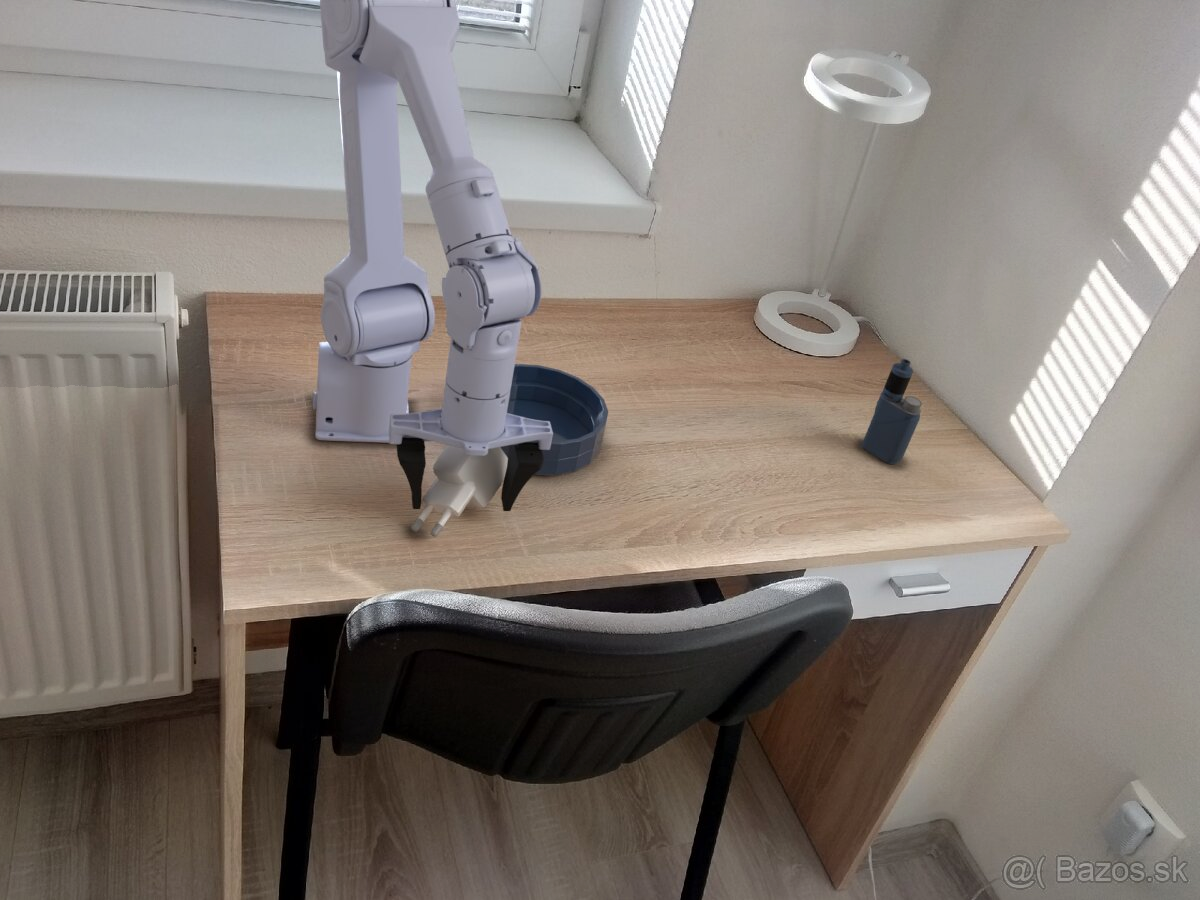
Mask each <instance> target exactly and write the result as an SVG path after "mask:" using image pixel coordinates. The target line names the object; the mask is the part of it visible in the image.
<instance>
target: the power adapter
mask: <svg viewBox="0 0 1200 900" xmlns="http://www.w3.org/2000/svg"><path fill="white" fill-rule="evenodd" d="M507 462H508V458H507V456H506V455H505V453H504V452H503V450H502V449H501V448H500V447H497V448H492V449H488V454H487V455H485V456H472V455H467V454H465V453H464V449H463V448H458V447H454V446H450V445H446V446H445V447H444V448H443V450H442V451H441V452H440V454H439V456H437V459H436V460H435V462H434V463H433V467H432V470H433V473H434V475H435V476H436V479H435V480H434V482H433V483H432V485H431V486H430V487H429V488H428V490H427V492H426V493H425V494H424V496H423V497H422V501H421V505H422V506H424V508H423V510H422V512H421V513H420V514H419V516H418V517H417V518H416V520H415V521H414V523H413V524H412V525H411V531H413V532H419V530H420V528H421V527H422V526H423V525H424V523H425V521H426V519H427V518H428V517H429V515H430V514H431V513H432V512H434V513H439V514H442V515H441V517H440V518H439V519H438V521H437V522H436V523H435V524H434V526H433V527H432V529H431V530H430V532H429V533H430V536H431V537H434V538H436V537H438V535H439V534H440V533H441V531H442V530H443V528H444V526H445V525H446V523H447V522H448V520H449V519H450V518H451V517H455V518H460V516H461V514H462V512H464V510H465V509H466V506H468V507H472V508H477V509H483V508H485V507H486V506H488V505H489V504H490V502H491V501H492V500H493V498H494V496H495V495H496V494H497V492H498V491H499V489H500V488H501V486H503V482H504V478H505V473H506V469H507Z"/></svg>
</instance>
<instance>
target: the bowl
mask: <svg viewBox="0 0 1200 900" xmlns="http://www.w3.org/2000/svg"><path fill="white" fill-rule="evenodd" d="M507 413H508V414H512V415H516V416H521V417H525V418H529V419H534V420H540V421H549V422H550V424H551V428H552V431H553V436H552V441H551V446H550V450H542V452H543V456H544V461H543V465H542V467H541V469H540V470H539V471H538V472H536V473H535V474H534V475H533V476H559V475H565V474H569V473H574V472H577V471H578V470H582V469H583V468H585V467H587V466H590V464H591V463H592V462H593V461H594V460H595V459H596V458H597V457H598V456H599V454H600V451H601V448H602V444H603V438H604V434H605V431H606V426H607V422H608V416H609V409H608V407H607V403H606V401H605V399H604V397H603V396H602V395H601V394H600V393H599V392H598V391H597V390H596V388H595V387H593V386H592V385H590V384H589V383H587V382H586V381H585V380H583V379H581V378H580V377H578V376H576V375H573V374H571V373H569V372H566V371H563V370H561V369H557V368H554V367H549V366H544V365H540V364H526V363H515V366H514V372H513V378H512V384H511V390H510V397H509V403H508V409H507ZM500 448H501V449H502V450H503V452H504V453H505V455H506V456H507V458H508V453H509V445H508V446H502V447H500Z"/></svg>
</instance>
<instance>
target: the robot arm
mask: <svg viewBox="0 0 1200 900" xmlns="http://www.w3.org/2000/svg"><path fill="white" fill-rule="evenodd" d="M319 6H320V9H319V10H320V20H321V21H320V22H321V33H322V34H321V36H322V47H323V52H324V62H325V65H326V67H328V68H330V69H332V70H334V71H336V76H337V91H338V103H339V120H340V131H341V145H342V146H341V148H342V161H343V174H344V190H345V203H346V216H347V217H346V218H347V232H348V245H349V252H348V254H347V255H346V256H344V258H343V259H342V260H341V261H339V263H337V264H336V265H335V266H334V267H333V268H332V269H330V271H328V273H326V274H325V275H324V277H323V299H322V303H321V309H320V323H321V327H322V332H323V334H324V338H325V340H326V341H321V342H320V341H319V342H318V359H317V383H316V391H313V395H312V396H313V397H312V410H315V435H314V437H315V439H317V440H318V441H331V442H334V441H335V442H356V443H357V442H359V443H360V442H361V443H383V444H385V443H386V444H389V445H396V454H397V460H398V462H399V465H400V467H401V469H402V470H403V472H404V474H405V476H406V477H405V478H407V481H408V485H409V488H410V492H411V506H412V510H421V509H422V499H423V497H422V496H423V495H422V491H423V490H422V488H423V481H424V475H425V469H426V466H427V465H426V464H427V461H426V444H425V442H433V443H434V442H435V443H437V444H443V445H446V446H447V445H450V446H454V447H458V448H463V449H464V453H465V454H467V455H472V456H485V455H487V454H488V449H492V448H497V447H502V446H508V445H509V453H508V462H507V469H506V473H505V478H504V482H503V483H502V485H501V486H502V487H501V495H500V496H501V497H500V499H501V500H500V501H501V506H502V511H503V512H511V511H512V509H513V506H514V504H515V502H516V499H517V498H518V496H519V495H520V493H521V491H522V490H523V488H524V487H525V485H526V484H527V483H528V482H529V481H530V480H531V479H532V478H533V476H535V475H534V474H535V473H536V472H538V471H539V470H540V469H541V467H542V465H543V461H544V456H543V452H542V450H550V446H551V441H552V436H553V431H552V428H551V424H550V422H549V421H540V420H534V419H529V418H525V417H521V416H516V415H512V414H508V413H507V409H508V403H509V397H510V390H511V384H512V378H513V372H514V366H515V364H516V358H517V354H518V348H519V341H520V335H521V330H522V323H523V322H522V321H523V320H522V319H525V318H526V317H530V316H532V315H534V314H535V313H536V312H537V311H538V308H539V306H540V304H541V301H542V291H543V289H542V280H541V276H540V269H539V266H538V264H537V262H536V261H535V259H534V257H533V256H532V255H531V254H530V252H528V251H527V250H526V249H525V248H524V246H523V244H522V240H520V239H519V237H518V236H517V237H513V235H512V232H511V228H510V226H509V221H508V218H507V215H506V212H505V209H504V205H503V202H502V199H501V196H500V192H499V189H498V186H497V182H496V180H495V179H496V178H495V176H494V173H493V170H492V169H491V168H490V167H488V166H487V165H486V164H484V163H482V162H481V161H479V160H477V159H476V158H475V155H474V151H473V146H472V142H471V137H470V133H469V129H468V124H467V118H466V115H465V109H464V106H463V100H462V96H461V93H460V92H461V91H460V87H459V83H458V79H457V74H456V69H455V66H454V61H453V56H452V52H453V51H454V48H455V45H456V43H457V39H458V34H459V30H460V18H459V15H458V13H457V12H458V10H457V9H458V7H457V0H319ZM397 84H399V87H400V90H401V91H402V94H403V96H404V99H405V102H406V104H407V107H408V109H409V111H410V114H411V117H412V120H413V122H414V124H415V127H416V130H417V132H418V134H419V137H420V140H421V142H422V145H423V147H424V150H425V152H426V154H427V157H428V161H429V163H430V165H431V167H432V171H431V173H430V176H429V179H428V181H427V183H426V185H425V193H426V196H427V197H426V198H427V200H428V202H429V203H428V205H429V207H430V210H431V213H432V217H433V219H434V223H435V227H436V230H437V233H438V237H439V240H440V243H441V246H442V249H443V253H444V255H445V259H446V263H447V265H448V268H449V269H448V270H447V272H446V275H445V277H441V292H442V299H443V302H444V306H445V310H446V321H445V327H446V333H447V335H448V336H449V337H450V341H449V349H448V357H447V366H446V375H445V380H444V381H445V383H444V391H443V397H442V398H443V399H442V406H441V408H436V409H435V408H434V409H430V410H424V411H423V410H422V411H417V412H416V411H415V412H411V413H410V408H409V390H410V381H411V370H412V363H413V362H412V361H413V355H414V354H415V353H418V352H420V346H421V342H424V341H426V340H427V339H429V338H430V337H431V335H432V333H433V330H434V327H435V322H436V312H435V311H436V309H435V305H434V302H433V299H432V295H431V293H430V287H429V282H428V273H427V271H425V269H424V268H423V267H421V265H419V264H418V263H417V262H415V261H414V260H412V259H411V258H409V257H408V256H406V255H405V254H406V253H405V238H404V237H405V236H404V235H405V234H404V218H403V198H402V178H401V176H402V173H401V158H400V157H401V156H400V137H399V136H400V135H399V134H400V133H399V116H398V115H399V114H398V95H397Z"/></svg>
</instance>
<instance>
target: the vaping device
mask: <svg viewBox="0 0 1200 900" xmlns="http://www.w3.org/2000/svg"><path fill="white" fill-rule="evenodd" d="M913 374H914V369H913V368H912V367H911V361H910V360H909V359H906V358H902V359H901V360H900V362H896V363H893V364H892V367H891V369H890V372H889V374H888V377H887V379H886V381H885V384H884V386H883V389H882V392H881V393H880V395H879V397H878V400H877V401H876V405H875V407H874V413H873V415H872V418H871V420H870V423H869V426H868V428H867V431H866V433H865V435H864V437H863V440H862V442H861V445H860V446H861V448H862V449H864V450H865V451H867V452H868V453H870V454H871V455H873V456H874V457H876V458H878V459H879V460H881V461H883V462H885V463H886V464H888V465H897V464H898V463H899V462H900V461H901V460H902V459H903V458H904V456H905V454H906V451H907V449H908V447H909V445H910V443H911V440H912V438H913V435H914V433H915V431H916V428H917V426H918V424H919V422H920V419H921V412H922V409H921V407H922V404H923V403H922V400H920V399H919V398H917V397H916V396H910V395H907V396H905V397H904V395H905V393H906V390H907V389H908V385H909V383H910V381H911V378H912V377H913ZM903 397H904V398H903Z"/></svg>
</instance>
